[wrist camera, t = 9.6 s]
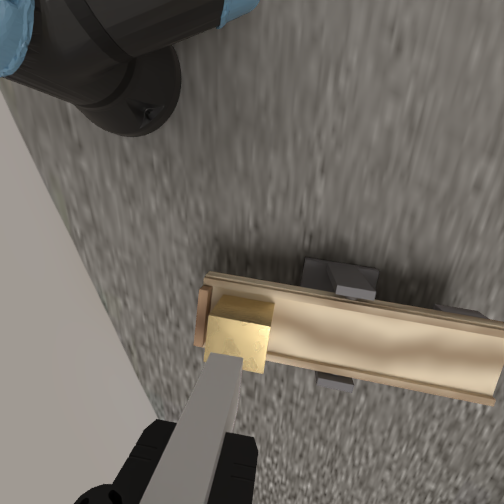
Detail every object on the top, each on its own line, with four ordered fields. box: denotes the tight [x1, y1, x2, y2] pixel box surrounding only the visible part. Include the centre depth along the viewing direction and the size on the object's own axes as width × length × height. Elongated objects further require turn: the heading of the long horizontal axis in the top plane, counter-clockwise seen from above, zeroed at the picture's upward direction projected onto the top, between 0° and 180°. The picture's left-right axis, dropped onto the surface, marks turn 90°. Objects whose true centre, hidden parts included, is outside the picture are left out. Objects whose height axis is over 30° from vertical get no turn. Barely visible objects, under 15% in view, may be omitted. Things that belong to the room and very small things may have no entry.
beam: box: [194, 271, 504, 406], centre depth 35 cm, size 10×33×8 cm, turn 82°
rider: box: [204, 294, 275, 374], centre depth 32 cm, size 5×6×6 cm
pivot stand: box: [300, 257, 379, 393], centre depth 38 cm, size 12×10×12 cm
